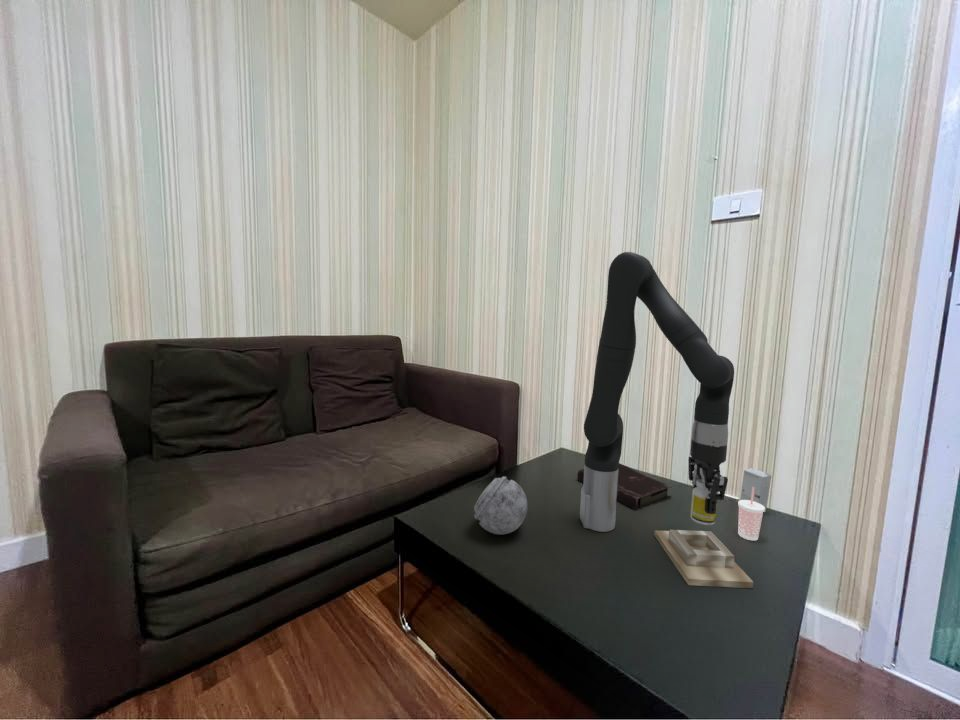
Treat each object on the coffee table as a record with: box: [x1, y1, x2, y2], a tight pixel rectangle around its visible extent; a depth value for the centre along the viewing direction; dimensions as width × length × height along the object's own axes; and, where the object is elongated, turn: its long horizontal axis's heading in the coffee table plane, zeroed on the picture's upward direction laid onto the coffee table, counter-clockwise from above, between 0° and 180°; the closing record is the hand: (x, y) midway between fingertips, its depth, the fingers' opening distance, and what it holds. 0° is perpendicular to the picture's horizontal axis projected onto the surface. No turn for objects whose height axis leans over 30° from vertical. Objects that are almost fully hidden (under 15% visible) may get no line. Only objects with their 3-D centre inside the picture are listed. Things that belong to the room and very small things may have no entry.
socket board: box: [653, 529, 754, 589], centre depth 100 cm, size 14×20×4 cm
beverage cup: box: [737, 487, 765, 541], centre depth 110 cm, size 6×6×14 cm
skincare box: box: [739, 467, 772, 513], centre depth 126 cm, size 6×4×12 cm
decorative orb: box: [473, 476, 528, 536], centre depth 110 cm, size 15×14×15 cm
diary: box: [576, 462, 673, 511], centre depth 139 cm, size 19×25×5 cm
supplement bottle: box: [689, 479, 718, 526], centre depth 98 cm, size 5×5×10 cm
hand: (703, 506), depth 98 cm, fingers closed on supplement bottle, 5 cm apart
